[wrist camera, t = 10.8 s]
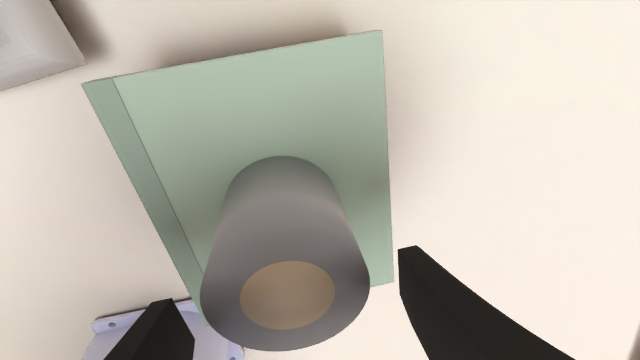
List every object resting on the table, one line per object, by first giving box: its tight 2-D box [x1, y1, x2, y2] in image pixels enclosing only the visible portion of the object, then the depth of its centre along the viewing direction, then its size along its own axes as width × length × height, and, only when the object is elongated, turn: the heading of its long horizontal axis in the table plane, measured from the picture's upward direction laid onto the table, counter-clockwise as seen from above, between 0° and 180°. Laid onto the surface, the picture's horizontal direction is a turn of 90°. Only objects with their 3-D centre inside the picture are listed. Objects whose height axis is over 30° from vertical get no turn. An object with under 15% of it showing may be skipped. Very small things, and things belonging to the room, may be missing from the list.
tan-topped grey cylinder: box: [200, 156, 370, 351], centre depth 11 cm, size 5×5×5 cm
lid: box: [81, 30, 394, 326], centre depth 13 cm, size 10×13×1 cm
